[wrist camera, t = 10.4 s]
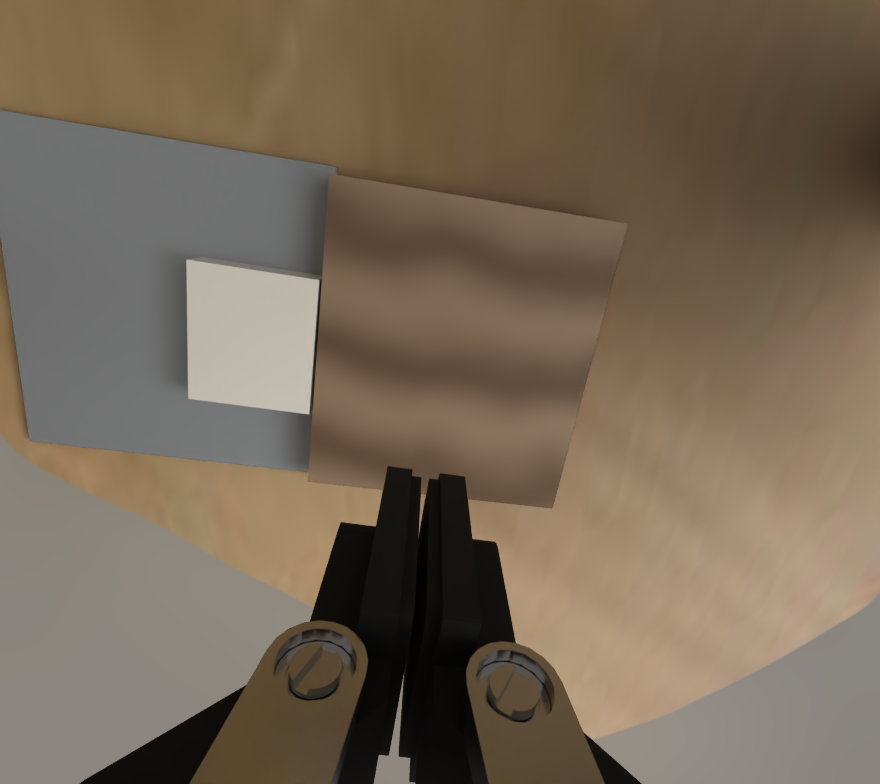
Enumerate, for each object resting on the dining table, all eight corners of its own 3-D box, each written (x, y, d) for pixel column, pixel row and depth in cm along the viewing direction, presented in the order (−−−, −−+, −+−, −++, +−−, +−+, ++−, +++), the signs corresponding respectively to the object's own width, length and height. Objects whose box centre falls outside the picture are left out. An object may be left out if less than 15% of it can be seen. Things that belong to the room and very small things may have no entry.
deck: (337, 177, 27) (329, 173, 24) (610, 223, 28) (628, 223, 26) (315, 462, 33) (307, 481, 30) (543, 488, 34) (552, 508, 32)
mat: (-11, 109, 25) (-19, 107, 25) (337, 167, 27) (336, 167, 26) (35, 437, 31) (29, 441, 31) (315, 469, 33) (313, 472, 32)
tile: (202, 256, 27) (186, 259, 26) (325, 276, 28) (319, 280, 26) (202, 387, 30) (188, 398, 28) (315, 402, 31) (308, 414, 29)
